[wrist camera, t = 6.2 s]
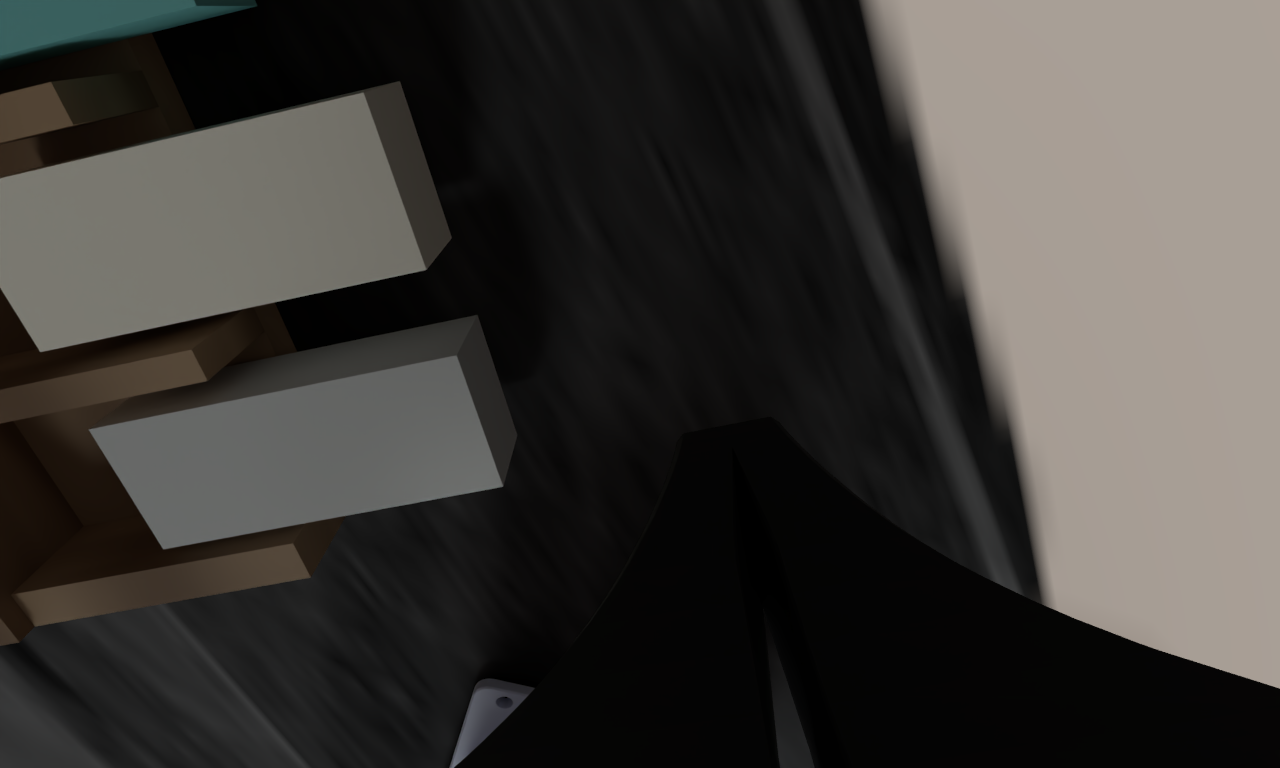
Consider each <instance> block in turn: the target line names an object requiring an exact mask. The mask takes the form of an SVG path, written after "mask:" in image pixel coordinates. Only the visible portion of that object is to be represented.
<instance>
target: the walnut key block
mask: <svg viewBox="0 0 1280 768" xmlns="http://www.w3.org/2000/svg"><path fill="white" fill-rule="evenodd" d="M191 130H195V127H194V125H193V123H192V120H191V118H190V116H189V114H188V112H187V109H186V107H185V105H184V103H183V101H182V98H181V96H180V94H179V92H178V90H177V87H176V85H175V83H174V81H173V79H172V77H171V74H170V72H169V70H168V68H167V66H166V63H165V61H164V59H163V57H162V55H161V52H160V50H159V48H158V46H157V44H156V42H155V39H154V37H153V35H152V33H148V34H144V35H140V36H136V37H132V38H128V39H124V40H120V41H116V42H112V43H109V44H105V45H101V46H97V47H93V48H89V49H85V50H81V51H77V52H73V53H69V54H65V55H61V56H57V57H53V58H49V59H45V60H41V61H37V62H33V63H29V64H25V65H21V66H17V67H13V68H9V69H5V70H1V71H0V177H1V176H4V175H8V174H12V173H16V172H19V171H23V170H27V169H31V168H35V167H39V166H44V165H48V164H52V163H56V162H60V161H65V160H69V159H73V158H77V157H82V156H86V155H90V154H94V153H98V152H103V151H107V150H111V149H115V148H119V147H124V146H128V145H132V144H136V143H141V142H145V141H149V140H153V139H157V138H162V137H166V136H170V135H174V134H179V133H183V132H187V131H191ZM295 352H297V350H296V348H295V346H294V344H293V342H292V339H291V337H290V335H289V333H288V331H287V328H286V326H285V324H284V322H283V320H282V317H281V315H280V313H279V311H278V309H277V306H276V304H275V302H274V303H269V304H264V305H260V306H255V307H250V308H246V309H241V310H236V311H232V312H227V313H222V314H217V315H213V316H208V317H203V318H199V319H194V320H189V321H185V322H180V323H175V324H171V325H166V326H161V327H156V328H152V329H147V330H142V331H138V332H133V333H128V334H124V335H119V336H114V337H109V338H105V339H100V340H95V341H91V342H86V343H81V344H77V345H72V346H67V347H63V348H58V349H53V350H48V351H44V352H40V351H39V349H38V348H37V346H36V344H35V343H34V341H33V340H32V338H31V336H30V335H29V333H28V332H27V330H26V328H25V327H24V325H23V324H22V322H21V320H20V319H19V317H18V316H17V314H16V312H15V311H14V309H13V308H12V306H11V304H10V303H9V301H8V299H7V298H6V296H5V295H4V293H3V291H2V290H1V288H0V646H1V645H7V644H12V643H18V642H20V641H21V640H22V639H23V638H24V637H25V636H26V635H27V634H28V633H29V632H30V631H31V630H32V629H33V628H34V627H35V626H40V625H46V624H51V623H57V622H63V621H68V620H74V619H79V618H85V617H91V616H96V615H102V614H108V613H113V612H119V611H125V610H130V609H136V608H141V607H147V606H153V605H158V604H164V603H170V602H175V601H181V600H186V599H192V598H198V597H203V596H209V595H215V594H220V593H226V592H232V591H237V590H243V589H248V588H254V587H260V586H265V585H271V584H277V583H282V582H288V581H294V580H299V579H305V578H310V577H311V576H312V574H313V573H314V571H315V569H316V567H317V566H318V564H319V562H320V560H321V559H322V557H323V555H324V553H325V552H326V550H327V548H328V546H329V545H330V543H331V541H332V539H333V538H334V536H335V534H336V532H337V531H338V529H339V527H340V525H341V523H342V522H343V520H344V518H345V516H342V517H336V518H331V519H325V520H320V521H315V522H309V523H304V524H298V525H293V526H287V527H282V528H277V529H271V530H266V531H260V532H255V533H249V534H244V535H239V536H233V537H228V538H222V539H217V540H212V541H206V542H201V543H195V544H190V545H184V546H179V547H174V548H168V549H163V548H162V546H161V545H160V543H159V542H158V540H157V538H156V537H155V535H154V534H153V532H152V530H151V529H150V527H149V526H148V524H147V522H146V521H145V519H144V518H143V516H142V514H141V513H140V511H139V510H138V508H137V506H136V505H135V503H134V502H133V500H132V498H131V497H130V495H129V494H128V492H127V490H126V489H125V487H124V486H123V484H122V482H121V481H120V479H119V478H118V476H117V474H116V473H115V471H114V470H113V468H112V466H111V465H110V463H109V461H108V460H107V458H106V457H105V455H104V453H103V452H102V450H101V449H100V447H99V445H98V444H97V442H96V441H95V439H94V437H93V436H92V434H91V433H90V431H89V429H90V428H91V427H92V426H94V425H95V424H96V423H98V422H99V421H100V420H102V419H103V418H104V417H105V416H107V415H108V414H109V413H111V412H112V411H113V410H115V409H116V408H117V407H118V406H120V405H121V404H122V403H124V402H125V401H126V400H127V399H129V398H130V397H133V396H137V395H142V394H147V393H152V392H157V391H162V390H167V389H172V388H176V387H181V386H186V385H191V384H196V383H201V382H206V381H208V380H210V379H211V378H212V377H213V376H214V375H215V374H216V373H218V372H219V371H220V370H221V369H222V368H223V367H227V366H232V365H237V364H241V363H246V362H251V361H256V360H261V359H266V358H271V357H275V356H280V355H285V354H290V353H295Z"/></svg>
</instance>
